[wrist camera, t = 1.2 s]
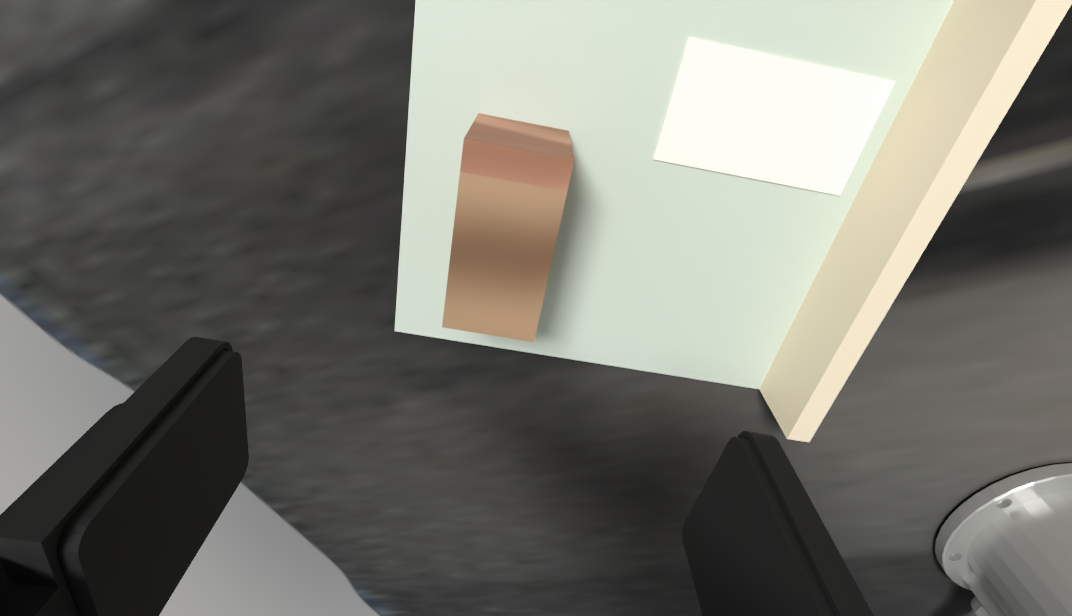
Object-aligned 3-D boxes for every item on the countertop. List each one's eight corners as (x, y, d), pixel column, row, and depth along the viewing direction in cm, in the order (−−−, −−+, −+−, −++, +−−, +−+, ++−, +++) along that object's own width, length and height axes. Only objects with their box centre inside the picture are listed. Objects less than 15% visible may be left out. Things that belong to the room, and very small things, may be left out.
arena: (775, 387, 31) (809, 442, 27) (396, 326, 29) (374, 376, 25) (1044, -130, 19) (1171, -163, 15) (437, -286, 17) (406, -369, 14)
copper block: (535, 288, 27) (533, 342, 23) (457, 275, 27) (441, 327, 23) (568, 130, 23) (574, 159, 19) (478, 113, 23) (463, 138, 19)
